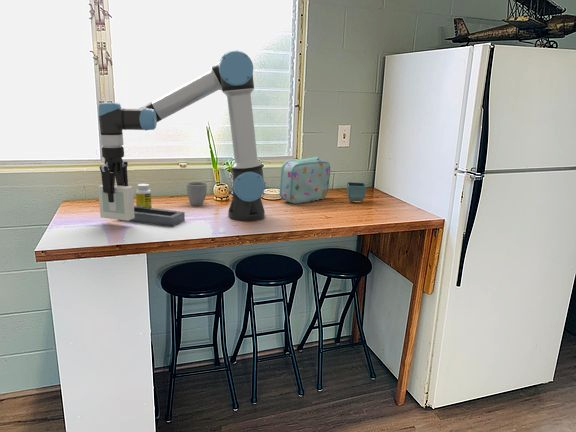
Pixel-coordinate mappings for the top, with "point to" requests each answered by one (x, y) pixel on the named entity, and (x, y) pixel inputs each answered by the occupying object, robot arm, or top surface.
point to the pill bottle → (143, 196)
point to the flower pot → (356, 191)
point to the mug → (196, 192)
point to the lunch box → (304, 180)
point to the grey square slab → (118, 203)
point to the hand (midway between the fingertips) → (117, 208)
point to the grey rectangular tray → (157, 216)
